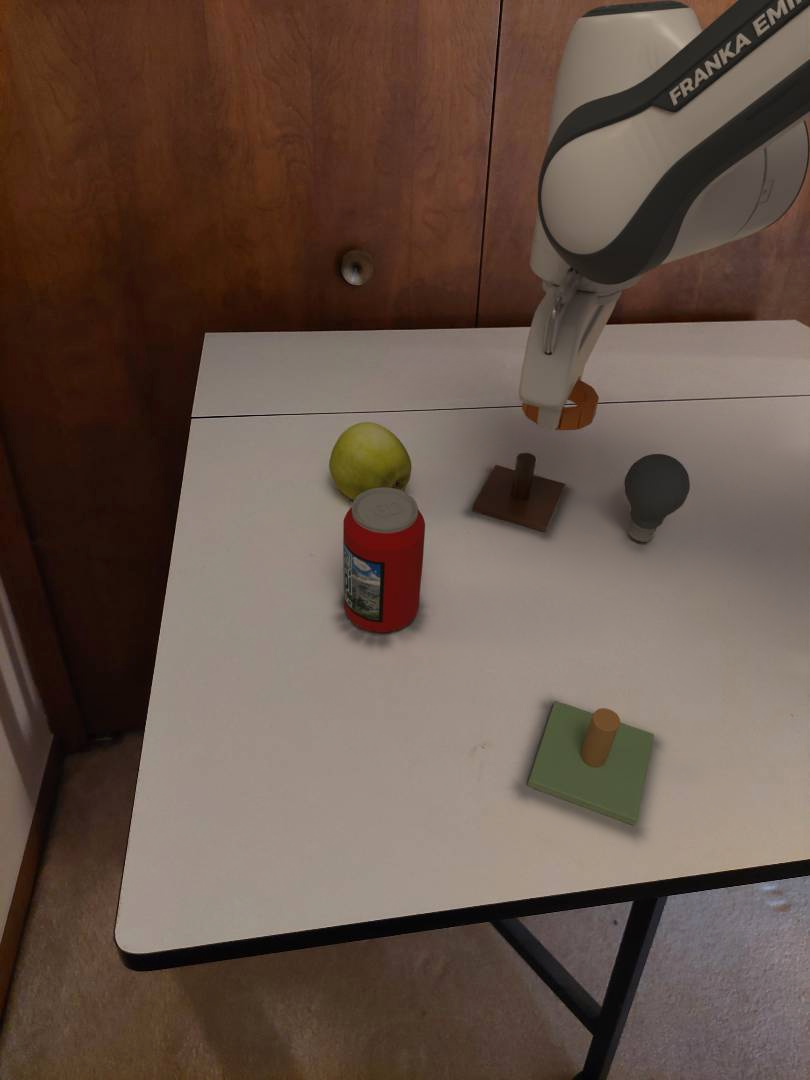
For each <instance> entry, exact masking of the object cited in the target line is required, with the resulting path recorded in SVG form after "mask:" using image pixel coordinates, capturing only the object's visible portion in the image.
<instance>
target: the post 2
mask: <svg viewBox="0 0 810 1080" xmlns="http://www.w3.org/2000/svg"><path fill="white" fill-rule="evenodd" d="M654 736H655V734H654V733H652V732H649V731H646V730H643V729H640V728H637V727H634V726H631V725H629V724H626V723H622V722H621V719H620V716H619V715H618V713H616V712H615V711H614V710H612V709H610V708H606V707H605V708H604V707H602V708H597V709H596V710H595V711H593V712H590V711H587V710H585V709H581V708H578V707H575V706H572V705H570V704H567V703H564V702H560V701H558V700H554V702H553V705H552V707H551V711H550V713H549V716H548V720H547V723H546V726H545V730H544V732H543V735H542V737H541V742H540V743H539V744H540V745H539V747H538V751H537V754H536V757H535V760H534V763H533V766H532V769H531V772H530V775H529V778H528V781H527V787H529V788H532V789H535V790H537V791H540V792H543V793H546V794H548V795H551V796H554V797H556V798H559V799H562V800H564V801H567V802H569V803H573V804H574V805H578V806H580V807H584V808H586V809H588V810H591V811H593V812H597V813H600V814H602V815H605V816H607V817H610V818H613V819H616V820H619V821H621V822H624V823H626V824H629V825H632V826H635V825H636V823H637V821H638V816H639V812H640V807H641V802H642V797H643V791H644V786H645V782H646V776H647V771H648V766H649V762H650V756H651V752H652V748H653V747H652V746H653V741H654Z"/></svg>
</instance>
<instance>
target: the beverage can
mask: <svg viewBox="0 0 810 1080" xmlns="http://www.w3.org/2000/svg"><path fill="white" fill-rule="evenodd" d="M425 521H426V520H425V518H424V516H423V514H422V512H421V511H420V509H419V506H418V503H417V501H416V500H415V499H414V497H413V496H412V495H411V494H409V493H408V492H405V491H403V490H398V489H394V488H383V487H382V488H374V489H370V490H367V491H365V492H363V493H361V494H360V495H358V496H357V497H356V498H355V500H353V502H352V505H351V507H350V508H349V509H348V510H347V512H346V513H345V516H344V517H343V522H342V523H343V529H342V534H343V536H342V538H343V539H342V541H343V542H342V545H343V546H342V547H343V548H342V554H343V556H342V560H343V565H342V566H343V567H342V568H343V606H344V610H345V613H346V616H347V617H348V618H349V620H350V621H351V622H352V623H353V624H355V625H356V626H358V627H360V628H362V629H363V630H366V631H370V632H375V633H388V632H393V631H394V632H395V631H397V630H400V629H403V628H405V627H406V626H407V625H410V623H412V621H413V620H414V619H415V618H416V617H417V614H418V611H419V607H420V597H421V596H420V595H421V585H422V577H423V575H422V574H423V561H424V552H425V551H424V550H425V536H426V535H425V534H426V522H425Z"/></svg>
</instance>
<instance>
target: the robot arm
mask: <svg viewBox="0 0 810 1080" xmlns="http://www.w3.org/2000/svg"><path fill="white" fill-rule="evenodd" d="M809 118H810V0H737V1H735V2H734V3H733V4H732V5H730V7H728V8H727V9H726V10H725V11H724V12H723V13H722V14H721V15H720V16H718V17H717V18H715V20H714V21H712V22H711V23H710V24H709V25H708V26H707V27H706V28H705V29H702V27H701V25H700V22H699V19H698V17H697V14H696V13H695V11H694V9H693V8H692V7H690V6H689V5H686V4H684V3H683V2H680V1H676V0H657V1H645V2H636V3H619V4H610V5H609V4H608V5H601V6H598V7H595V8H593V9H590V10H588V11H587V12H586V13H584V14H583V15H582V16H580V17H579V18H578V19H577V20H576V22H575V23H574V25H573V27H572V29H571V31H570V33H569V36H568V38H567V41H566V44H565V46H564V48H563V53H562V56H561V59H560V63H559V67H558V71H557V75H556V80H555V86H554V90H553V96H552V102H551V107H550V113H549V119H548V126H547V127H548V128H547V133H546V142H545V143H546V153H545V155H544V158H543V161H542V164H541V169H540V173H539V178H538V184H537V205H536V212H535V220H534V227H533V234H532V241H531V248H530V256H529V262H528V263H529V268H530V269H531V271H532V273H534V274H535V275H537V277H539V278H540V279H542V282H541V288H542V290H543V292H545V295H544V297H543V298H542V300H541V301H540V302H539V304H538V305H537V307H536V310H535V311H534V314H533V317H532V320H531V326H530V329H529V332H528V337H527V342H526V347H525V351H524V357H523V363H522V368H521V374H520V378H519V384H518V396H519V400H520V402H521V403H522V402H523V403H525V404H528V405H532V406H536V407H539V413H538V419H537V423H538V425H537V426H539V427H540V428H543V429H544V428H545V429H549V430H553V429H556V428H557V427H558V425H559V423H560V420H561V418H562V413H563V408H564V407H566V404H567V401H569V400H568V398H569V396H570V394H571V392H572V390H573V388H574V386H575V384H576V382H577V380H581V381H582V379H583V376H584V370H585V366H586V364H587V362H588V360H589V358H590V356H591V355H592V352H593V351H594V349H595V347H596V345H597V343H598V341H599V339H600V336H601V335H602V333H603V331H604V329H605V327H606V325H607V323H608V321H609V319H610V317H611V316H612V314H613V311H614V310H615V307H616V304H617V302H618V300H619V299H620V298H621V296H622V291H623V290H625V289H628V288H631V287H633V286H634V285H637V283H639V282H640V281H641V279H642V277H643V274H646V273H647V272H650V271H653V270H655V269H656V268H658V267H660V266H662V265H665V264H669V263H671V262H674V261H678V260H681V259H685V258H688V257H690V256H694V255H696V254H700V253H703V252H706V251H709V250H711V249H715V248H717V247H720V246H723V245H726V244H728V243H733V242H735V241H738V240H741V239H744V238H746V237H750V236H752V235H754V234H755V233H757V232H759V231H763V230H765V229H767V228H769V227H771V226H772V225H774V224H775V223H776V222H778V221H779V220H780V219H781V218H782V217H783V216H784V215H786V213H787V212H789V210H790V209H791V207H792V206H793V204H794V203H795V201H796V199H797V198H798V196H799V194H800V192H801V190H802V188H803V185H804V182H805V180H806V176H807V173H808V167H809V163H810V136H809V130H808V126H807V122H806V120H808V119H809Z"/></svg>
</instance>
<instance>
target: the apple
mask: <svg viewBox="0 0 810 1080" xmlns="http://www.w3.org/2000/svg"><path fill="white" fill-rule="evenodd" d="M328 463H329V464H328V468H329V473H330V476H331V479H332V481H333V483H334V484H335V486H336V488H337V489H338V490H339V491H340V492H341V493H342V494H343V495H344V496H346V497H348V498H350V499H351V500H353V501H354V500H355V498H356V497H357V496H358V495H360V494H361V493H363V492H365V491H367V490H370V489H374V488H382V487H383V488H394V489H398V490H401V491H403V489H404V488H405V487H407V485H408V483H409V481H410V478H411V474H412V467H413V466H412V460H411V458H410V455H409V453H408V451H407V449H406V447H405V445H404V444H403V442H402V441H401V440H400V439H399V438H398V437H397V436H396V434H394V433H393V432H392V431H391V430H390V429H388V428H387V427H385V426H383V425H381V424H378V423H377V422H371V421H362V422H359V423H355V424H353V425H351V426H349V427H348V428H347V429H345V430H344V431H343V432H342V433H341V434H340V435H339V437H338V438H337V440H336V442H335V444H334V445H333V447H332V450H331V453H330V457H329V462H328Z"/></svg>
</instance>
